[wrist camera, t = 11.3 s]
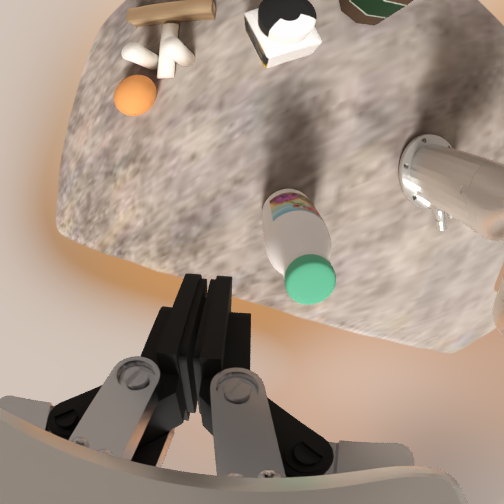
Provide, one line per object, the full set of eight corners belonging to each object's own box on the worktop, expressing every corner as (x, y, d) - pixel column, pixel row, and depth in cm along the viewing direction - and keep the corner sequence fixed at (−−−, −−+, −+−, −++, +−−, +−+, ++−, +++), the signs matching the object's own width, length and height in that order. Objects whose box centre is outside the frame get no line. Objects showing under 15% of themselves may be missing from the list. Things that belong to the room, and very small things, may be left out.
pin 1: (163, 63, 32) (142, 52, 24) (149, 72, 33) (125, 63, 25) (157, 52, 31) (135, 38, 23) (143, 60, 32) (118, 49, 24)
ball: (157, 65, 29) (162, 104, 31) (150, 81, 34) (155, 116, 36) (113, 71, 27) (116, 112, 28) (112, 88, 32) (115, 124, 34)
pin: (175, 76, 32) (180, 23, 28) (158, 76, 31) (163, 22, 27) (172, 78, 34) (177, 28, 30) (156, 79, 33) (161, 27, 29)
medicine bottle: (244, 29, 30) (241, -4, 19) (291, 15, 29) (305, -20, 18) (265, 69, 33) (269, 48, 22) (312, 54, 32) (334, 30, 21)
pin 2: (197, 61, 32) (183, 47, 25) (182, 69, 33) (165, 58, 25) (190, 49, 31) (175, 33, 24) (175, 57, 32) (157, 43, 24)
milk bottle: (298, 243, 44) (325, 328, 26) (253, 224, 43) (253, 304, 25) (321, 200, 41) (369, 264, 23) (274, 179, 40) (292, 230, 22)
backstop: (214, 19, 29) (211, 10, 26) (136, 27, 29) (126, 20, 25) (216, 8, 28) (212, -2, 25) (138, 16, 28) (128, 8, 24)
